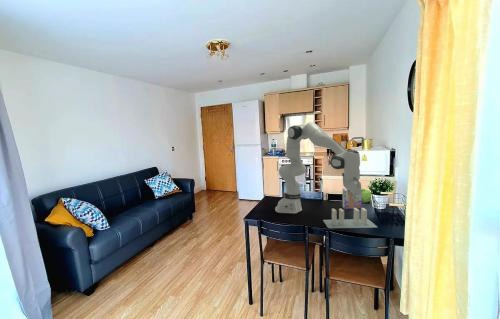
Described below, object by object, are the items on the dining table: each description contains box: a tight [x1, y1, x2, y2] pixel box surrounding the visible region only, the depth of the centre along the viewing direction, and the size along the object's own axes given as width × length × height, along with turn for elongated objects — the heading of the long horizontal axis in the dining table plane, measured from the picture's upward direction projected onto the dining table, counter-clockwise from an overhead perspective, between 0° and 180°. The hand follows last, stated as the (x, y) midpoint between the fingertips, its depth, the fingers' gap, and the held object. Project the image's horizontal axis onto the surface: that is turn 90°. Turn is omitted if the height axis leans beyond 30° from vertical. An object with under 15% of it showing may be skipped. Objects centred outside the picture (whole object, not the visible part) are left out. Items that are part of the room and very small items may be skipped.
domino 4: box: [353, 208, 360, 225], centre depth 153 cm, size 2×5×10 cm, turn 176°
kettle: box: [361, 188, 372, 204], centre depth 198 cm, size 15×14×11 cm
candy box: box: [342, 187, 363, 210], centre depth 183 cm, size 14×6×16 cm, turn 84°
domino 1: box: [331, 208, 338, 225], centre depth 154 cm, size 2×5×10 cm, turn 176°
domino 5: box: [360, 207, 368, 225], centre depth 153 cm, size 2×5×10 cm, turn 176°
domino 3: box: [349, 191, 355, 208], centre depth 140 cm, size 2×5×10 cm, turn 177°
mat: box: [322, 218, 378, 229], centre depth 154 cm, size 32×14×1 cm, turn 86°
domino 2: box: [338, 207, 345, 225], centre depth 154 cm, size 2×5×10 cm, turn 176°
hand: (351, 197), depth 139 cm, fingers closed on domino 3, 5 cm apart
